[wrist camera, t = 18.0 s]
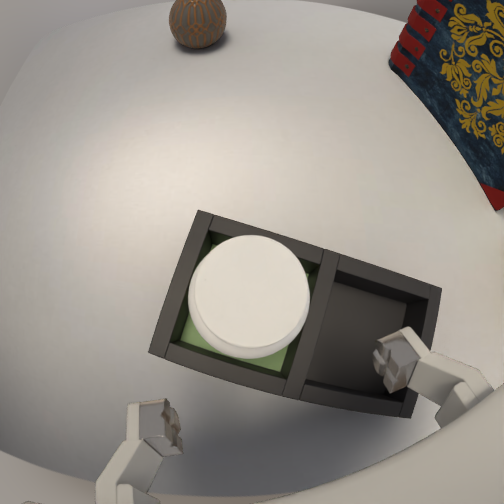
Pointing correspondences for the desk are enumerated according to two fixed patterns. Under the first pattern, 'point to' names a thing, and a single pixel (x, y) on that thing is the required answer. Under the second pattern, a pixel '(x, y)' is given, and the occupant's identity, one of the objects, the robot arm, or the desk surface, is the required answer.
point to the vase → (197, 22)
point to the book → (460, 78)
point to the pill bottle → (249, 297)
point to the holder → (307, 326)
